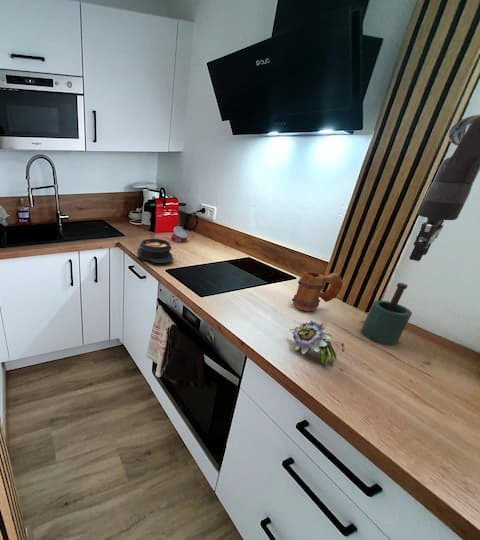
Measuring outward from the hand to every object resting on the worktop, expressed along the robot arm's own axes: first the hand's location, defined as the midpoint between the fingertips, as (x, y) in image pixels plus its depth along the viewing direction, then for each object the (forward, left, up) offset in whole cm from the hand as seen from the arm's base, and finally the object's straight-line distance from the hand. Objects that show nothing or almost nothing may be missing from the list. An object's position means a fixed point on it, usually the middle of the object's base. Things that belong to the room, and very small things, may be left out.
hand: (417, 257), depth 81 cm
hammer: (0, 0, -27) cm, 27 cm away
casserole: (+74, -58, -28) cm, 98 cm away
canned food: (+59, -93, -28) cm, 114 cm away
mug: (+14, -15, -28) cm, 35 cm away
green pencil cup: (0, 0, -28) cm, 28 cm away
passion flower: (+26, +12, -28) cm, 40 cm away
